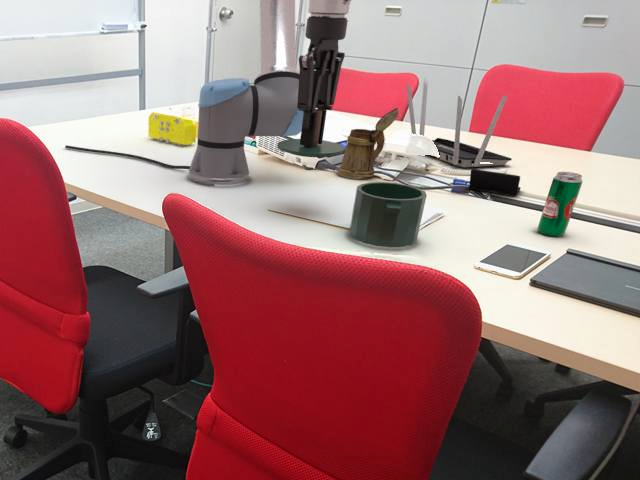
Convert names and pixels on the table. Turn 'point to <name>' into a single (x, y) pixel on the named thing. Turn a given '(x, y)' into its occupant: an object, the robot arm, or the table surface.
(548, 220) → the soda can
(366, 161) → the wooden mug
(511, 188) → the black box
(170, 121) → the yellow toy chassis
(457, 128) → the wireless router
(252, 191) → the table surface
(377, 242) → the tin
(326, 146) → the lid
